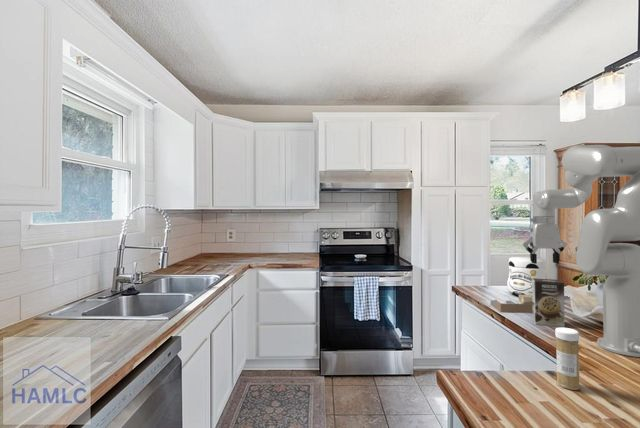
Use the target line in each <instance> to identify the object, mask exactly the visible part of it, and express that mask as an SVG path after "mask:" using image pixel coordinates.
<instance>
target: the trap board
mask: <svg viewBox="0 0 640 428" xmlns="http://www.w3.org/2000/svg"><path fill="white" fill-rule="evenodd" d="M490 306H491V307H493V308H494V309H496V310H497V311H498V312H499V313H518V314H519V313H520V314H523V313H524V314H525V313H526V314H532V304H519V302H518V303H515V302H514V301H512V300H505V302H500V301H499V300H497V299H494V300H490Z"/></svg>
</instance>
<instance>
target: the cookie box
mask: <svg viewBox="0 0 640 428" xmlns="http://www.w3.org/2000/svg"><path fill="white" fill-rule="evenodd" d="M531 314H532V315H531V316H532V317H531V318H532V321H533V323H534V324H535V325H539V326H548V327H556V328H559V327H564V328H565V282H563V281H562V280H560V279H554V278H553V279H551V278H549V279H548V278H546V279H537V278H532V313H531Z"/></svg>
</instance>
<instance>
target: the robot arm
mask: <svg viewBox="0 0 640 428" xmlns="http://www.w3.org/2000/svg"><path fill="white" fill-rule="evenodd" d="M561 165H562V168H563V169H564V170H565V173H564V180H565V182H566V183H567V184H568V185H569V186H570V187H572V188H565V189H562V188H559V189H558V188H557V189H544V190H541V191H535V192H533V194H532V213H533V216H532V218H530V219H529V221H530V222H532V224H531V227H530V232H529V239H528V240H527V239H526V240H525V241H524V242H523V243H522V246H523V248H525V250H526V251H527V252H528V253H529V257H530V260H531V262H532V263H534V264H536V263H537V258H538V257H537V251H538V249H542V250H543V249H546V250H547V249H551V250H552V251H553V253H552V262H553V263H554V264H560V261H561V260H560V257H561V253H562V252H563V251H564V250H565V248H567V245H568V243H567V242H566V241H564V240H562V239H561V234H560V228H559V225H558V223H556V210H557V209H575V208H578V207H580V206H581V205H583V204H584V203H585V202H586V201H588V200H589V199H590V197H591V195H592V192H593V183H594V182H595V181H597V180H598V179H599V178H609V177H610V178H611V177H612V178H614V177H630V179H629V180H628V181H626V182H625V183H624V184H623V185H622V186H621V188H620V190H618V193H617V196H616V202H615V204H614V206H613V207H612V208H599V209H594V210H591V211H590V212H588V213H587V214H586V215H585V216H584V218H583V220H582V222H581V226H580V231H579V237H578V241H577V242H578V243H577V248H576V254H575V261H576V265H577V268H578V269H579V271H581V272H582V273H583V274H585V275H588V276H601V277H603V276H605V277H606V276H607V277H606V279H605V281H604V284H603V287H602V318H603V319H602V321H603V322H602V323H603V324H602V325H603V329H602V330H603V337H598V338H597V339H596V344H597V345H598V346H599V347H600V348H602V349H604V350H606V351H608V352H612V353H615V354H619V355H623V356H628V357H635V358H640V245H638V244H635V243H630V242H637V241H640V146H622V147H621V146H620V147H613V146H610V145H608V144H588V145H587V144H584V145H575V146H571V147H570V148H568V149H566V150H565V152H564V153H563V154H562V157H561ZM611 242H613V243H611ZM615 242H616V243H615ZM618 242H619V243H618ZM624 242H625V243H624ZM626 242H629V243H626ZM529 245H530V246H529Z"/></svg>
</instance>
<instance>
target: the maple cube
mask: <svg viewBox="0 0 640 428" xmlns="http://www.w3.org/2000/svg"><path fill="white" fill-rule="evenodd" d="M518 303H519V304H532V296H530V295H519V296H518Z"/></svg>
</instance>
